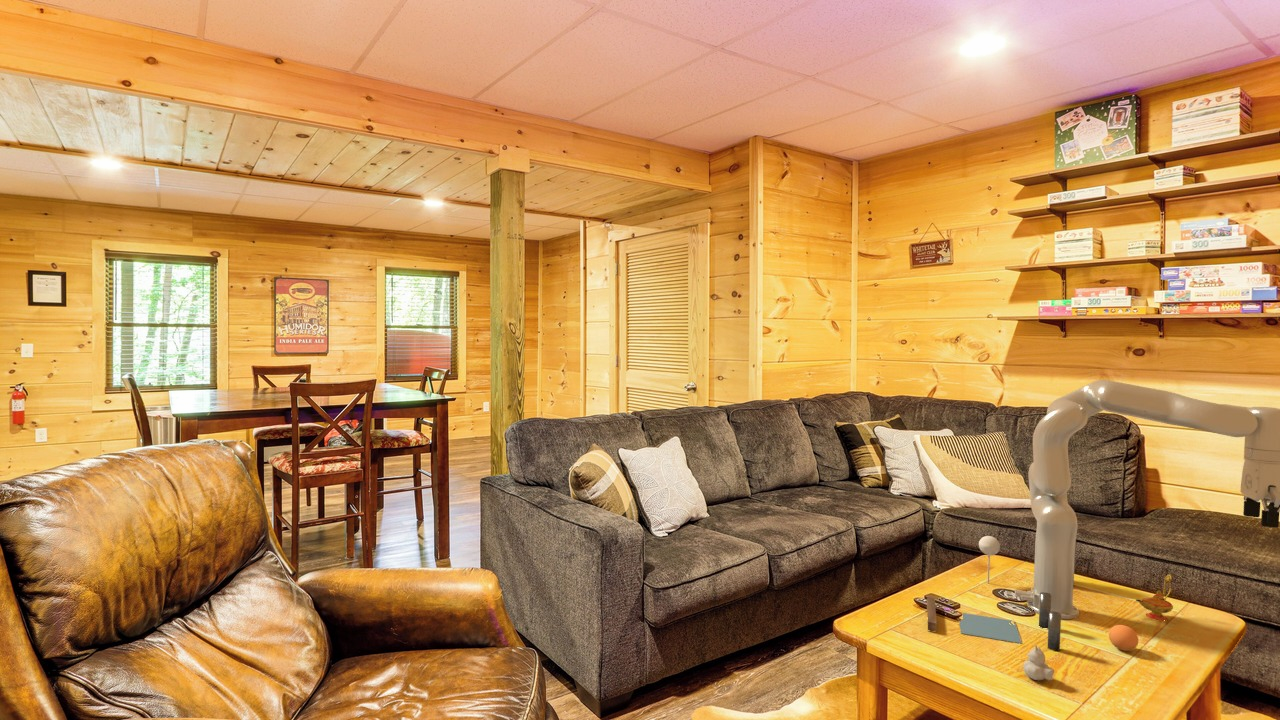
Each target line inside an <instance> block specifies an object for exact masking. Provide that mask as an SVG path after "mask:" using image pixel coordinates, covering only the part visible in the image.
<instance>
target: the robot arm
mask: <svg viewBox="0 0 1280 720" xmlns="http://www.w3.org/2000/svg"><path fill="white" fill-rule="evenodd" d="M1103 411H1105V412H1109V413H1114V414H1118V415H1123V416H1128V417H1133V418H1137V419H1142V420H1147V421H1152V422H1157V423H1161V424H1165V425H1171V426H1177V427H1178V426H1180V427H1184V428H1188V429H1189V428H1190V429H1193V430H1198V431H1203V432H1208V433H1213V434H1217V435H1221V436H1227V437H1233V438H1244V448H1243V449H1244V450H1243V460H1244V461H1243V466H1242V471H1241V472H1242V473H1241V480H1240V493H1241V494H1242V495H1243V512H1242V513H1243V516H1244V517H1249V518H1251V517H1252V518H1260V519H1261V520H1260V521H1261V522H1260V525H1261V526H1262V527H1267V528H1279V526H1280V524H1279V523H1280V408H1278V407H1272V406H1270V407H1268V406H1251V407H1250V406H1249V407H1247V406H1241V405H1240V406H1239V405H1232V404H1226V403H1224V404H1223V403H1216V402H1210V401H1205V400H1201V399H1198V398H1193V397H1188V396H1185V395H1182V394H1179V393H1175V392H1172V391H1168V390H1163V389H1156V388H1150V387H1147V386H1142V385H1141V386H1140V385H1135V384H1129V383H1126V382H1125V383H1123V382H1119V381H1115V380H1111V379H1097V380H1095V381H1092V382H1090V383H1088V384H1086V385H1084V386H1082V387H1079V388H1078V389H1076V390H1074V391H1072V392H1069V393H1067V394H1066V395H1063V396H1061V397H1058V398H1056V399H1055V400H1053V401H1052V402H1051V403H1050V404H1048V407H1047V409H1046V415H1044V416H1043V417H1042V418H1041V419H1040V420H1039V422H1038V423H1037V425H1036V427H1035V429H1034V431H1033V435H1032V457H1033V462H1031V464H1030V465H1029V468H1028V474H1027V475H1028V488H1029V498H1030V509H1031V512H1032V515H1033V517H1034V518H1035V520H1036V532H1035V543H1034V571H1033V574H1034V575H1033V587H1030V590H1027V591H1025V590H1020V589H1014V597H1017V598H1020V600H1021V601H1022V600H1023V601H1026V606H1027V605H1028V606H1029V607H1030V608H1031V609H1032V610H1031V609H1030V608H1029V607H1028V606H1027V607H1028V608H1029V609H1030V610H1031V611H1033V610H1034V611H1033V612H1034V613H1037V614H1039V606H1040V593H1041V592H1046V593H1049V594H1051V611H1054V612H1058V613H1060V614H1061V620H1063V619H1064V620H1067V619H1068V620H1069V619H1071V620H1072V619H1075V618H1077V617H1078V616H1079V613H1080V610H1079V609H1078V608H1077V607H1076V606H1075V605H1073V603H1074V602H1073V596H1074V584H1073V580H1074V581H1075V566H1074V552H1075V553H1076V548H1075V540H1076V541H1077V532H1078V528H1079V526H1078V517H1077V514H1076V512H1075V510H1074V509H1073V508H1072V507H1071V505H1070V504H1069V502H1068V493H1067V492H1068V491H1069V490H1070V489H1071V484H1072V478H1071V470H1070V464H1069V463H1070V462H1069V461H1070V460H1069V441H1070V439H1071V437H1072V436H1073V435H1074V434H1075V433H1076V432H1079V431H1080V430H1082V429H1084V427H1085V426H1086V425H1087V423H1088V419H1089V418H1091V417H1093V416H1095V415H1097V414H1099V413H1101V412H1103ZM1261 503H1262V504H1261ZM1261 505H1262V508H1263V509H1261ZM1260 514H1261V515H1260ZM1260 516H1261V517H1260Z"/></svg>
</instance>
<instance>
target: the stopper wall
mask: <svg viewBox="0 0 1280 720" xmlns="http://www.w3.org/2000/svg"><path fill="white" fill-rule="evenodd" d="M926 611H927V612H926V615H927V616H926V617H928V620H927V631H928V630H930V631H936V632H937V613H936V611H937V610H936V598H935V597H933V596H927V597H926Z"/></svg>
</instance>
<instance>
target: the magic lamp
mask: <svg viewBox="0 0 1280 720" xmlns="http://www.w3.org/2000/svg"><path fill="white" fill-rule="evenodd" d="M1172 578H1173V577H1172V575H1171V574H1168V575H1166V576H1165V577H1164V580H1163V581H1164V582H1163V583H1164V584H1163V593H1162V591H1161V590H1157V591H1156V593H1155V594H1154V595H1153V596H1152V597H1151V596H1148V597H1143V598H1142V599H1137V598H1136V599H1135V601H1136V602H1138V603H1139V604H1140V605H1141V606H1142V607H1143V608H1145V609H1146V610H1148V611H1151V612H1148V613H1147V612H1146V613H1145V614H1144V615H1145V617H1147V618H1148V619H1150V618H1151V620H1153V619H1154V621H1157V620H1159V621H1158V622H1167V621H1166V620H1167V619H1168V617H1166V616H1165V615H1164V614H1167V613H1169V612H1171V611H1172V610H1173V609H1174V605H1173V604H1172V603H1171V602H1170V601H1167V600H1166V599H1168V596H1170V593H1171V591H1172V585H1171V582H1170V581H1171V580H1172ZM1167 583H1168V586H1169V590H1168V593H1167V594H1166V592H1167ZM1164 620H1165V621H1164Z"/></svg>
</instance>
